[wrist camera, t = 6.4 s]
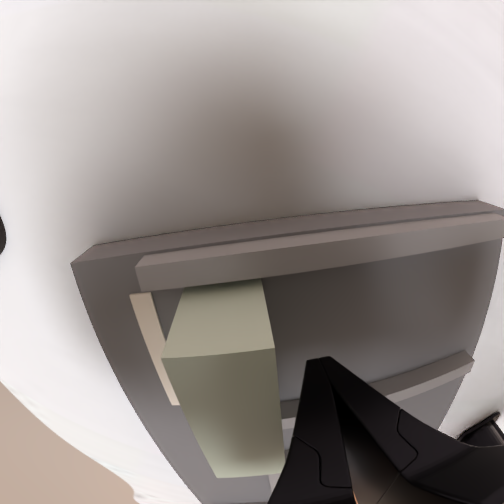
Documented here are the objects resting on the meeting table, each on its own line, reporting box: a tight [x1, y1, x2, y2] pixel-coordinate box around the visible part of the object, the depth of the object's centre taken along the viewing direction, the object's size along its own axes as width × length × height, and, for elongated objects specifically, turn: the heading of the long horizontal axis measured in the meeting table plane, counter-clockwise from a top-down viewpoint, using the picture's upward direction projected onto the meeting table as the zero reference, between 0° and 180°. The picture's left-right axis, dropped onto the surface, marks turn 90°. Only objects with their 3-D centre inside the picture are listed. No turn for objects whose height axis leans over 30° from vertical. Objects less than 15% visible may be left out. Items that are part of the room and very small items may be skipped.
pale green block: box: [161, 278, 285, 478], centre depth 8 cm, size 2×6×4 cm, turn 7°
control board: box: [70, 200, 504, 504], centre depth 14 cm, size 18×28×4 cm, turn 7°
